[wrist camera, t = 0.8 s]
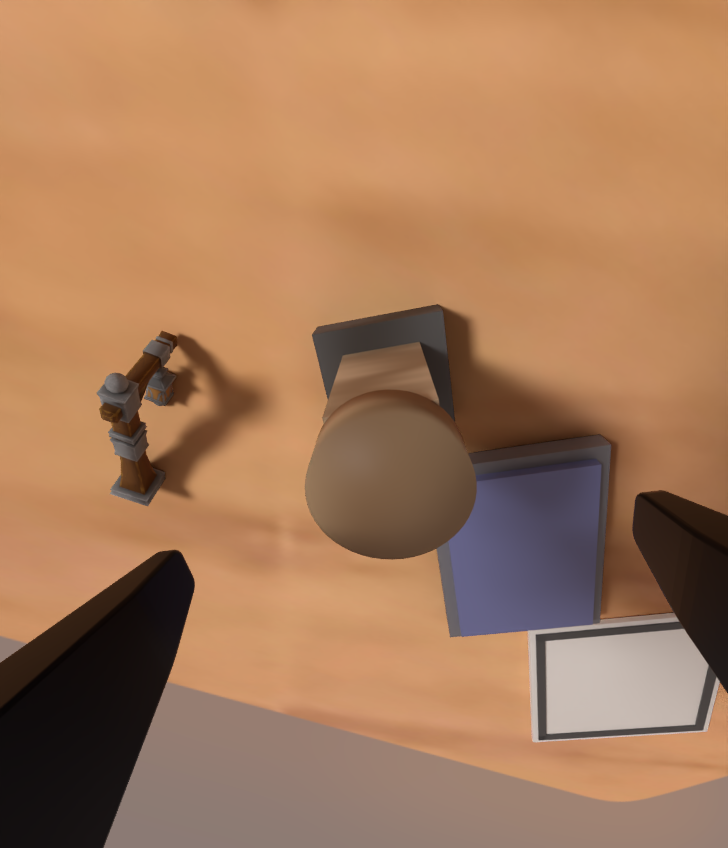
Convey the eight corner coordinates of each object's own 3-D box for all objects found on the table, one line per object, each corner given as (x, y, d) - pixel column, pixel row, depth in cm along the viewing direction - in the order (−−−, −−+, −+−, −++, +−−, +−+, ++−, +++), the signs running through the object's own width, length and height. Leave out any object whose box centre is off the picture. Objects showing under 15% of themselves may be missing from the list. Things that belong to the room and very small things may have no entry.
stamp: (437, 304, 17) (492, 374, 8) (450, 416, 19) (504, 562, 10) (317, 326, 17) (257, 413, 9) (342, 433, 19) (312, 583, 11)
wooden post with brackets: (192, 325, 17) (127, 402, 14) (190, 438, 22) (145, 510, 19) (147, 307, 16) (71, 382, 13) (157, 426, 22) (107, 497, 19)
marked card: (733, 607, 23) (738, 613, 22) (703, 726, 27) (708, 733, 27) (527, 626, 24) (529, 632, 24) (531, 737, 28) (533, 743, 28)
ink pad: (600, 434, 19) (617, 450, 17) (591, 608, 23) (604, 631, 22) (423, 459, 20) (426, 476, 18) (447, 621, 24) (451, 645, 23)
